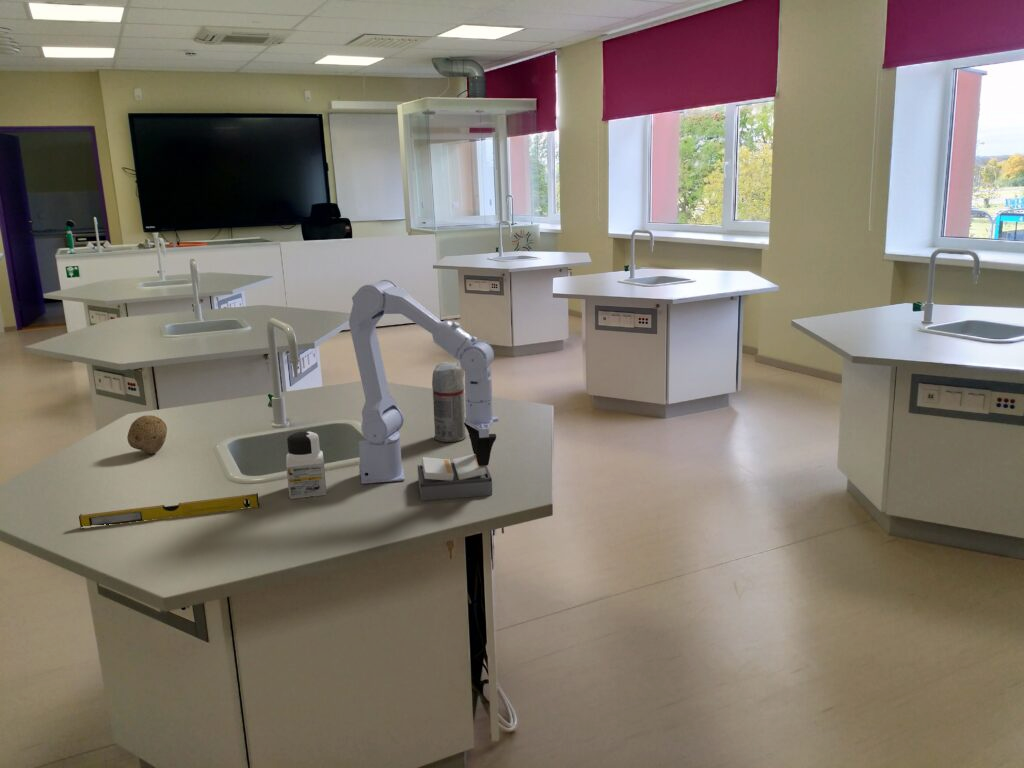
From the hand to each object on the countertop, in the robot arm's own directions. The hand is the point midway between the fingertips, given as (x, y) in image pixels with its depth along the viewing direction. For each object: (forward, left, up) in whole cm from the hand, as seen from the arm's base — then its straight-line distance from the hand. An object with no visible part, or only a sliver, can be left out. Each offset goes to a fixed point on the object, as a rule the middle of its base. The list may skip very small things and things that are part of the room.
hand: (480, 459), depth 172 cm
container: (-38, +5, -6) cm, 38 cm away
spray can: (-4, +34, -6) cm, 35 cm away
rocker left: (-10, 0, -2) cm, 10 cm away
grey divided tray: (-6, 0, -6) cm, 8 cm away
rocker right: (-2, 0, -2) cm, 3 cm away
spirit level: (-64, -3, -6) cm, 64 cm away
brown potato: (-79, +39, -6) cm, 88 cm away
